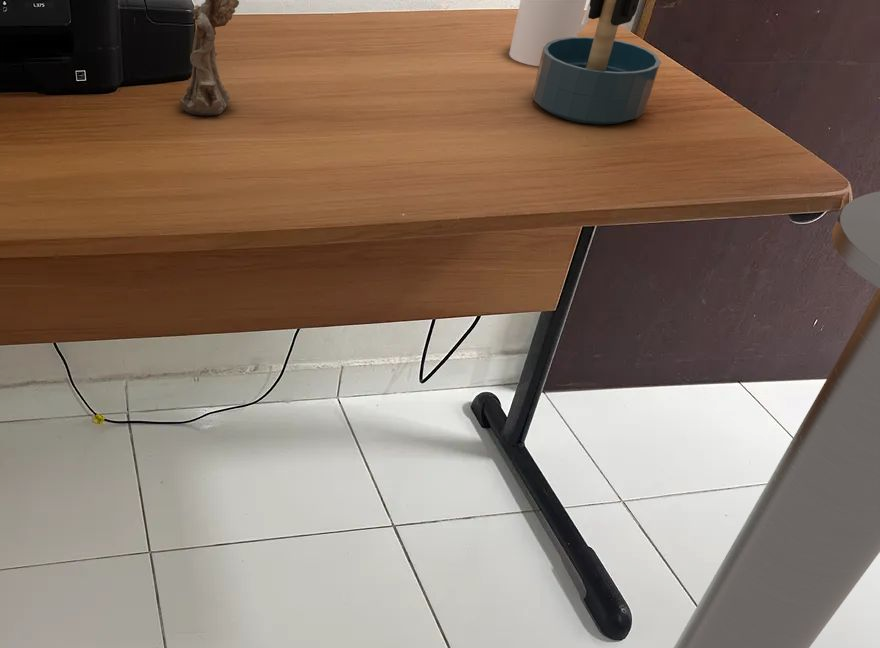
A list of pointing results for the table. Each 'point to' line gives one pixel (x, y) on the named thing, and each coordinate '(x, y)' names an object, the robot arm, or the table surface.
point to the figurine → (207, 60)
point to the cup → (545, 26)
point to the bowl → (594, 81)
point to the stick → (603, 38)
